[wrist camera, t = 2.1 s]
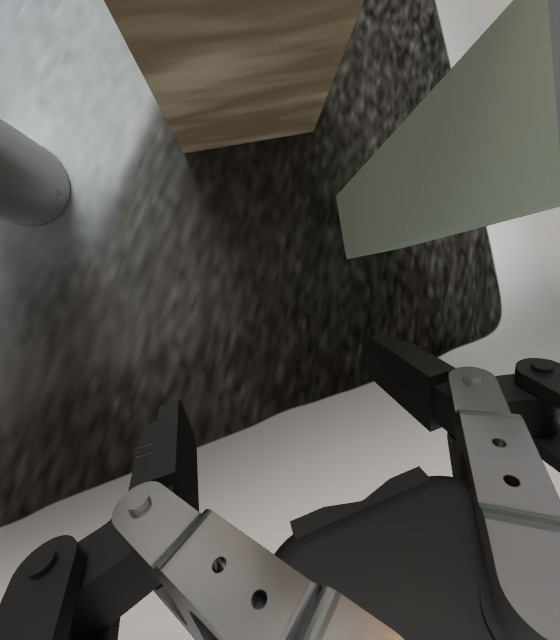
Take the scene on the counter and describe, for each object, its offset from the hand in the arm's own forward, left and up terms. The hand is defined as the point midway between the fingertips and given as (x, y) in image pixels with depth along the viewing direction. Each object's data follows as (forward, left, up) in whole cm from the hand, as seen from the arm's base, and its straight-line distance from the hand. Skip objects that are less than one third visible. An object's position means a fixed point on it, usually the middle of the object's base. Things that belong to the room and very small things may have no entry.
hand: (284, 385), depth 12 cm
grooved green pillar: (+3, +18, -27) cm, 33 cm away
